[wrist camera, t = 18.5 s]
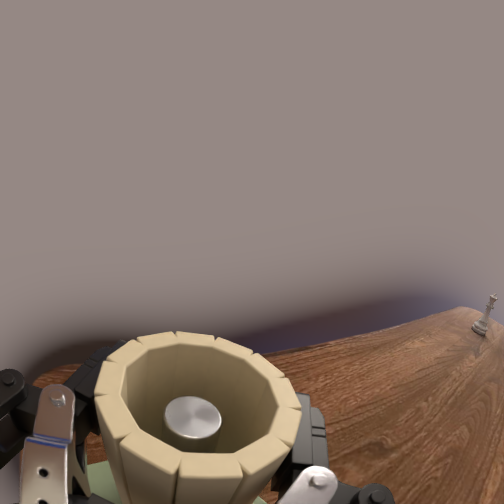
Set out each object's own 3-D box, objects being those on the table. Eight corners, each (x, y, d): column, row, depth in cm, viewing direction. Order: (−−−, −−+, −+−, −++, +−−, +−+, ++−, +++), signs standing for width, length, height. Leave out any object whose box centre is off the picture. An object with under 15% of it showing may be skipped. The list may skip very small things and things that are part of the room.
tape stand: (159, 589, 5) (147, 589, 2) (82, 476, 11) (37, 352, 8) (279, 525, 11) (368, 437, 8) (194, 441, 17) (219, 323, 14)
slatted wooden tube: (165, 561, 6) (165, 517, 3) (102, 468, 10) (74, 345, 8) (263, 509, 10) (337, 412, 8) (195, 439, 14) (220, 320, 12)
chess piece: (487, 335, 48) (504, 298, 45) (479, 335, 47) (497, 296, 45) (477, 327, 52) (493, 290, 49) (468, 326, 51) (485, 288, 49)
